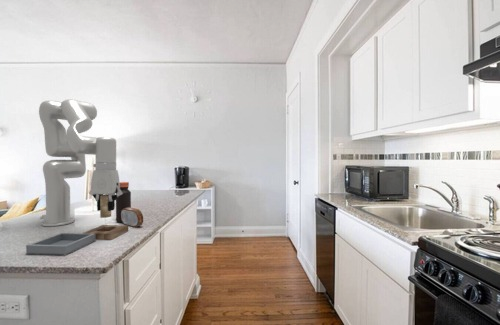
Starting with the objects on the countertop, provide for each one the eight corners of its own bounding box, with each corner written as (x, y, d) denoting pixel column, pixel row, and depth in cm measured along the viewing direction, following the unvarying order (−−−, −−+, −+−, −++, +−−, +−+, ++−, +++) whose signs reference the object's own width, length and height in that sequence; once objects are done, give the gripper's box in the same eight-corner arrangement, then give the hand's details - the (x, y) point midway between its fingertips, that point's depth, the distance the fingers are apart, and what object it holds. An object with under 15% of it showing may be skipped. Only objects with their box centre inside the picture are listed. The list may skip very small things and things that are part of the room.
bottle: (125, 223, 121) (124, 183, 121) (112, 222, 122) (112, 183, 122) (133, 220, 128) (133, 182, 127) (122, 219, 129) (122, 181, 129)
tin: (143, 227, 114) (143, 209, 114) (137, 228, 112) (137, 210, 112) (125, 222, 123) (125, 206, 122) (119, 224, 120) (119, 207, 120)
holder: (82, 239, 97) (82, 232, 97) (102, 230, 109) (102, 224, 109) (111, 239, 96) (111, 233, 96) (128, 231, 108) (128, 225, 108)
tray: (26, 254, 81) (26, 245, 81) (61, 240, 95) (61, 232, 95) (65, 255, 80) (65, 246, 80) (95, 241, 94) (95, 233, 94)
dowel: (98, 217, 101) (98, 195, 101) (104, 215, 105) (104, 194, 105) (107, 217, 101) (107, 196, 100) (113, 215, 104) (113, 194, 104)
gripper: (80, 166, 99) (80, 211, 99) (119, 167, 98) (119, 212, 98) (93, 166, 107) (93, 207, 107) (130, 166, 105) (129, 209, 106)
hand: (105, 209), depth 103 cm, fingers closed on dowel, 4 cm apart
